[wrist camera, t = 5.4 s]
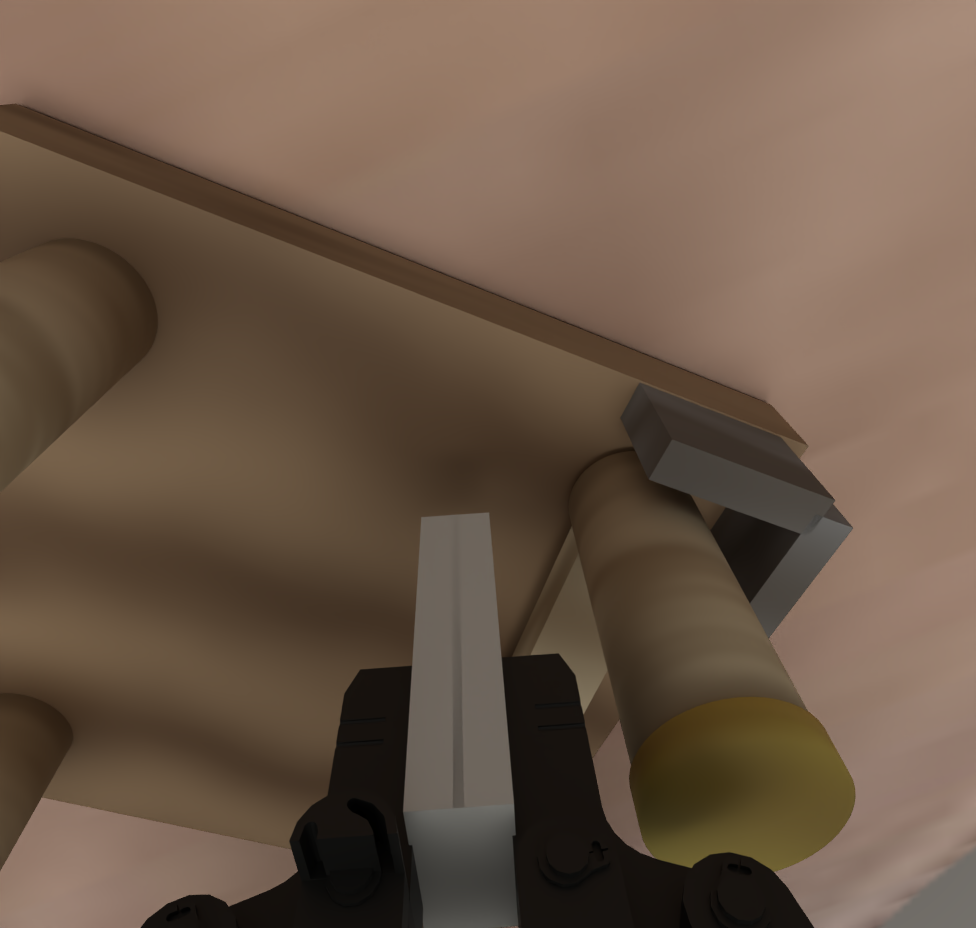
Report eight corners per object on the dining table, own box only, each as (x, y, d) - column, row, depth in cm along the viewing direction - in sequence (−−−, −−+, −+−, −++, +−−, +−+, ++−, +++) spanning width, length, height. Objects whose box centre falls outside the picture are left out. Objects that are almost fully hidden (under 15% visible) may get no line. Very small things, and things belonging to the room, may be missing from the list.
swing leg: (545, 773, 23) (588, 1121, 16) (450, 754, 23) (447, 1106, 15) (711, 466, 18) (898, 764, 10) (592, 432, 18) (698, 721, 10)
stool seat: (496, 830, 29) (516, 1223, 19) (-44, 707, 25) (-373, 1132, 15) (771, 404, 21) (1063, 724, 11) (15, 103, 16) (-672, 168, 6)
